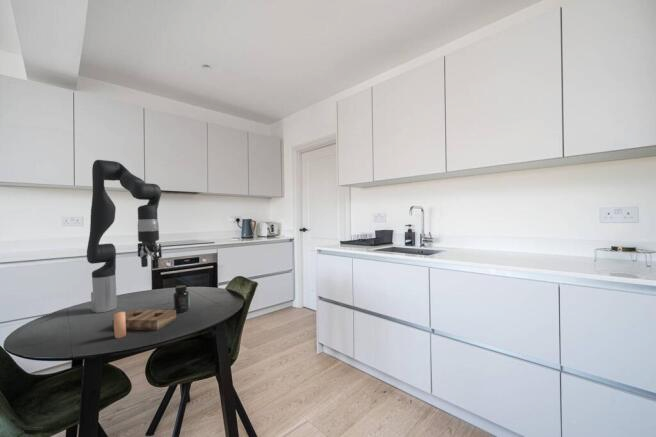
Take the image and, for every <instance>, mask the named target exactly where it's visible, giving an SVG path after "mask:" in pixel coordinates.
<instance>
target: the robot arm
mask: <svg viewBox="0 0 656 437" xmlns="http://www.w3.org/2000/svg"><path fill="white" fill-rule="evenodd" d="M91 169H92V172H91V174H92V176H91V177H92V179H91V180H92V196H91V198H92V199H91V206H90V225H89V226H90V227H89V235H88V243H87V247H86V248H87V249H86V261H87V262H88V263H89V264H91V265H92V264H101V263H104V264H103V265H102V266H101V267H99V268H97V269H95V270H93V271H92V272H91V280H92V281H91V283H92V284H91V286H92V291H91V293H90V300H91V302H90V304H91V312H93V313H105V312H109V311H114V310H116V309H117V308H118V300H117V282H116V278H117V276H116V270H117V268H116V267H117V265H116V262H117V260H116V257H117V253H116V252H117V250H116V249H117V248H116V246H115V244H114V243H100V241H101V239H102V237H103V235H104V234H105V233H106V232H107V231H108V230H109V229H110V227H111V226H112V225H113V224H114V222H115V219H116V211H117V210H116V205H115V203H114V202H113V200H112V198H111V197H110V196H109V195H108V193H107V191H106V189H105V181H113V182H114V181H119V184H120V186H122V187H123V188H124V189H125V190H127V191H129V192H130V194H131V196H132V197H133V198H134V199H136V200H143V201H145V200H146V201H148V202H147V203H146V204H144V205H143V204H142V205H139V206H138V208H137V240H138V243H137V257H138V258H139V257H140V258H139V259H140V260H141V262H140V263H141V268H147V267H149V266H148V265H149V263H148V262H149V261H148V258H149V256H150V258H151V268H152V270H153V269H154V270H155V269H159V260H160V259H161V258H163V256H162V244H161V243H157V241H159V240H160V230H159V229H160V228H159V221H158V209H159V208H158V207H159V205H160V200H161V197H162V189H161V187H160V186H159V184H156V183H148V182H145V181H144V180H143V179H142V178H140V177H138V176H136V175H134V174H132V173H131V172H130V171H129V170H128V168H126V167H125V166H124V165H123V164H122V163H121V162H118V161H114V160H107V159H96V160H95V161H94V162H93V164H92V168H91Z"/></svg>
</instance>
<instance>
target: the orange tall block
mask: <svg viewBox="0 0 656 437" xmlns="http://www.w3.org/2000/svg"><path fill="white" fill-rule="evenodd" d="M125 314H126V311H118V312H116V313H114V314H113V319H114V329H113V330H114V339H121V338H123V337H126V336H127V329H126V320H125Z"/></svg>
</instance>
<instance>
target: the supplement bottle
mask: <svg viewBox="0 0 656 437" xmlns="http://www.w3.org/2000/svg"><path fill="white" fill-rule="evenodd" d="M187 288H188V287H187V285H184V284H183V285H181V284H180V285H177V286H175V290H174V293H173V295H172V296H173V300H172V301H173V310H176V314H182V313H183V314H184V313H186V312H188V311H189V310H190V292H189V291H188V289H187Z"/></svg>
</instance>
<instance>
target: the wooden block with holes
mask: <svg viewBox="0 0 656 437" xmlns="http://www.w3.org/2000/svg"><path fill="white" fill-rule="evenodd" d="M125 320H126V330H132V331H134V330H135V331H136V330H137V331H138V330H140V331H141V330H142V331H144V330H145V331H159V330H161V328H163V327H165V326H167V325H168V324H170V323H172V322H174V321H175V320H177V313H176V310H174V309H140V308H139V309H137V308H136V309H133V310H131V311H129V312H125ZM112 330H114V318H113V319H112Z"/></svg>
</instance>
